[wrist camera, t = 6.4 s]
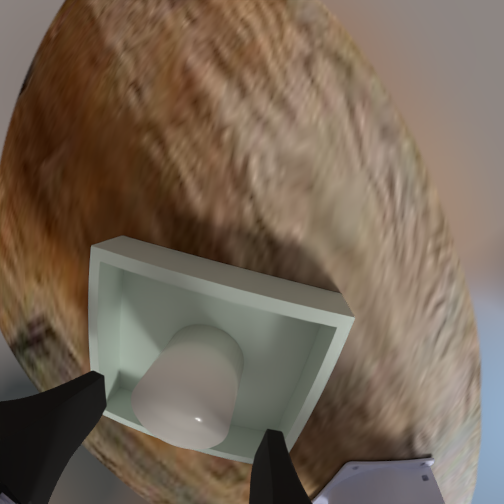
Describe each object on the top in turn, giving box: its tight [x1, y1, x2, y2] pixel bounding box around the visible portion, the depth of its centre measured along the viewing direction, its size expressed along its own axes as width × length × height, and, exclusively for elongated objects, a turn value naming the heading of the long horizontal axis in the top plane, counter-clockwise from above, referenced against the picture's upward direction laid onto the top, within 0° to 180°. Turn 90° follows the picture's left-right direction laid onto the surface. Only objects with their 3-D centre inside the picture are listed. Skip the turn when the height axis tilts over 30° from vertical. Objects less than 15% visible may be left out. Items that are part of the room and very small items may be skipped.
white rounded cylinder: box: [131, 324, 244, 449], centre depth 13 cm, size 4×4×5 cm
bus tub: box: [88, 235, 355, 464], centre depth 14 cm, size 12×11×3 cm
